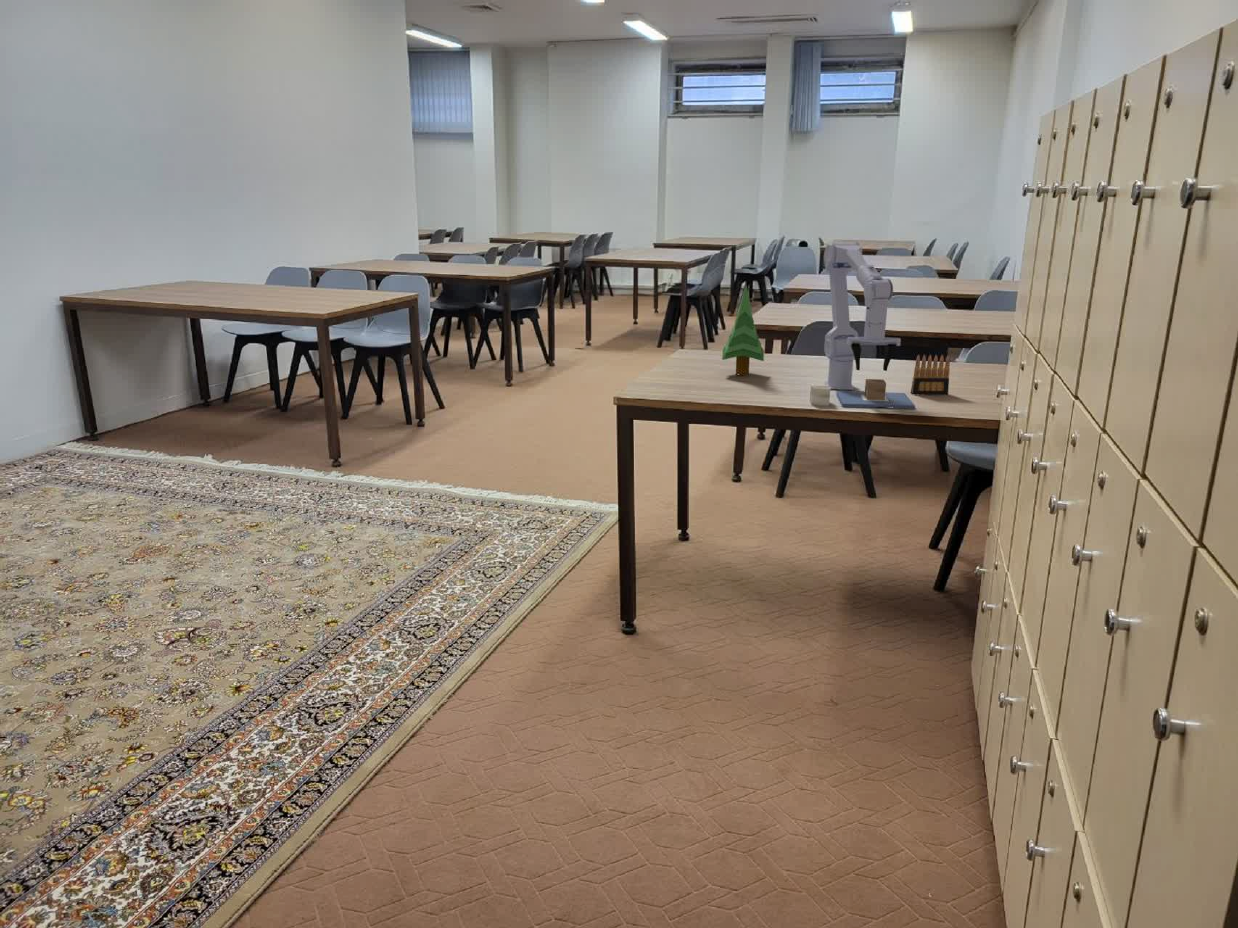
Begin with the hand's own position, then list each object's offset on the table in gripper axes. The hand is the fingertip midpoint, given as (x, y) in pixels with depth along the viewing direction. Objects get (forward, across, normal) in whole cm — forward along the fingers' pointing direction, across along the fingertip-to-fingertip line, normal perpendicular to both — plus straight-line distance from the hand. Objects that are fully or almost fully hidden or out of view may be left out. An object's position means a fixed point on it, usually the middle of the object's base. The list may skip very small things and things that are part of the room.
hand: (871, 369), depth 253 cm
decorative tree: (+10, -36, +35) cm, 51 cm away
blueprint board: (+9, +2, 0) cm, 10 cm away
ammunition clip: (+10, +20, +12) cm, 25 cm away
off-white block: (+10, -14, -3) cm, 18 cm away
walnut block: (+8, +2, 0) cm, 8 cm away
